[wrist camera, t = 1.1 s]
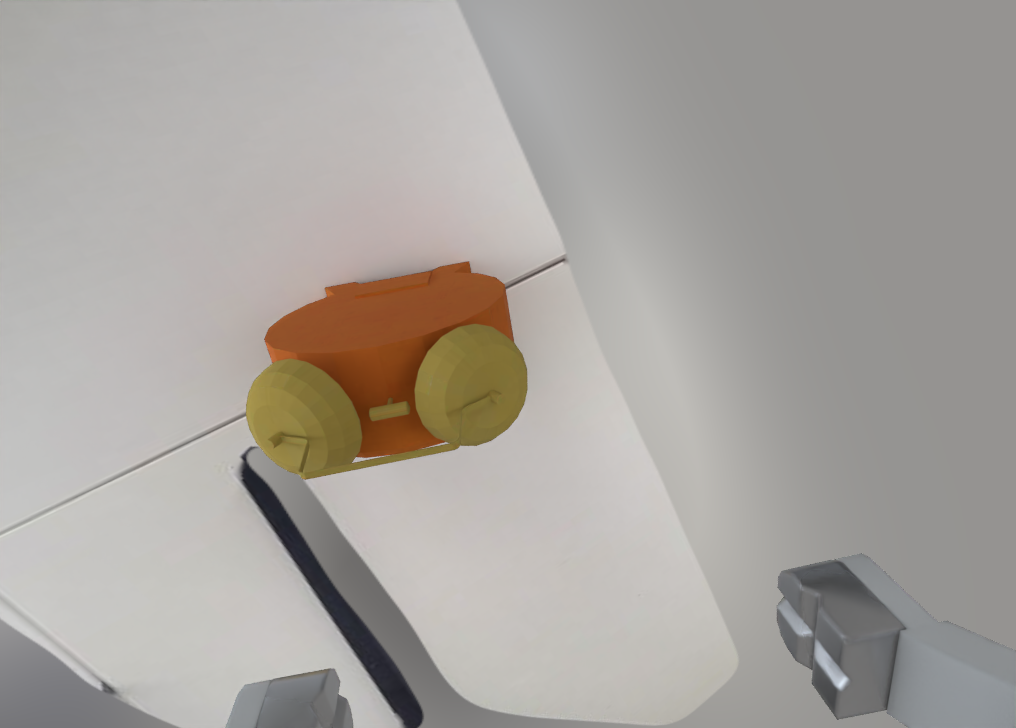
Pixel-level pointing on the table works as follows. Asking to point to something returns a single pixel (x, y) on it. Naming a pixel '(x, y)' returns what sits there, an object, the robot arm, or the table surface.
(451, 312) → the alarm clock
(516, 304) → the table surface
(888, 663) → the robot arm
